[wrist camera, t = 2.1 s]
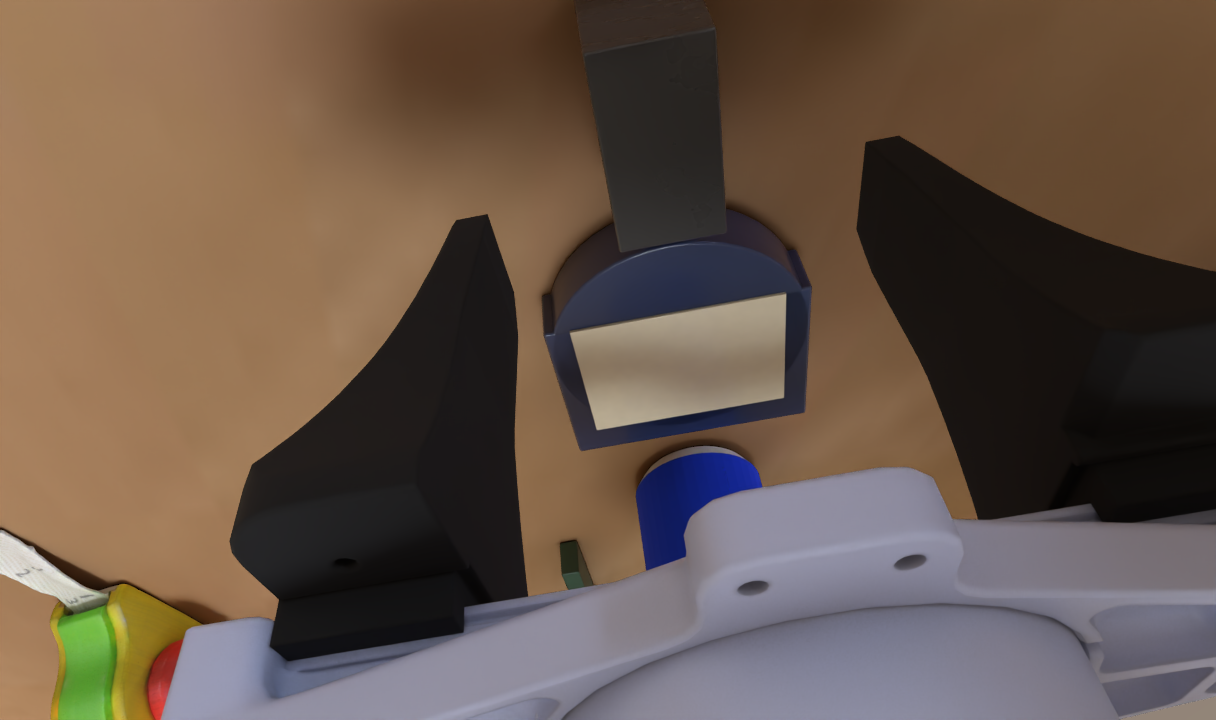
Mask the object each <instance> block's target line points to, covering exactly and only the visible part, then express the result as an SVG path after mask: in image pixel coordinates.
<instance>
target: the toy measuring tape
mask: <svg viewBox="0 0 1216 720" xmlns="http://www.w3.org/2000/svg"><path fill="white" fill-rule="evenodd" d="M0 574H3V575H6V576H8V577H10V578H12V579H15V580H17V581H19V582H21V583H22V584H24V585H27V586H29V587H30V588H32V589H34V590H37V591H39V592H41V593H45V594H49V595H52V596H55V597H57V598H58V599H59V600H60V602H58V603H57V605H56V606H55V608H54V610H53V612H52V615H51V619H50V627H51V629H52V632H53V634H54V636H55V639H56V641H57V644H58V649H59V671H58V677H57V682H56V687H55V691H54V695H53V699H52V705H51V720H161V716H162V713H163V709H164V706H165V702H166V699H167V695H168V692H169V688H170V685H171V681H172V678H173V674H174V671H175V667H176V664H177V660H178V657H179V653H180V650H181V647H182V643H183V640H184V636H185V633H186V631H187V630H188V629H190V628H191V627H194V626H200V625H202V624H201V623H199V622H197V621H196V620H194V619H192V618H190V617H189V616H187V615H185V614H183V613H181V612H180V611H178V610H176V609H174V608H172V607H170V606H168V605H166V604H165V603H163V602H161V601H159V600H157V599H155V598H153V597H151V596H149V595H148V594H146V593H144V592H142V591H140V590H138V589H136V588H134V587H132V586H130V585H127V584H120V585H117V586H113V587H109V588H106V589H103V590H99V591H97V590H93V589H90V588H87V587H85V586H83V585H81V584H79V583H78V582H76V581H75V580H73V579H72V578H70V577H69V576H67V575H65V574H64V573H62V572H61V571H60V570H59V569H57V568H56V567H55V566H54V565H52V564H51V563H49V561H48V560H46V559H45V558H44V557H43V556H41V555H40V554H38V553H37V552H36V551H35V549H34V547H33V546H28V545H26V544H24V543H23V542H22V541H21V540H20V539H18V538H15V537H13V536H12V535H11V534H8V533H7V532H5V531H4V530H0Z"/></svg>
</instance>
